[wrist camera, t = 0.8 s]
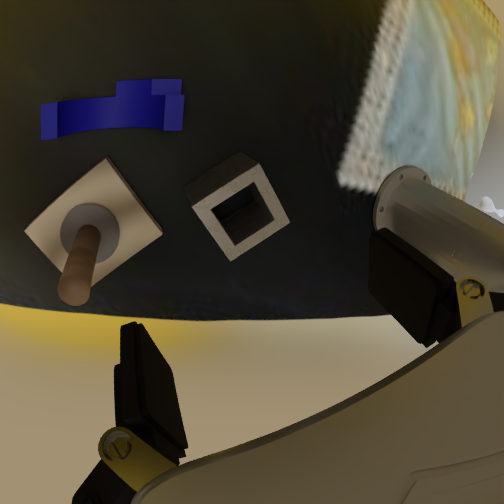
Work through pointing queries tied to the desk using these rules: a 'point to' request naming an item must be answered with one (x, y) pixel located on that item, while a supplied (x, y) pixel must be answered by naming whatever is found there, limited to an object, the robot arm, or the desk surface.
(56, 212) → the post board
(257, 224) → the sleeve
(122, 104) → the cable clip
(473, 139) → the desk surface
